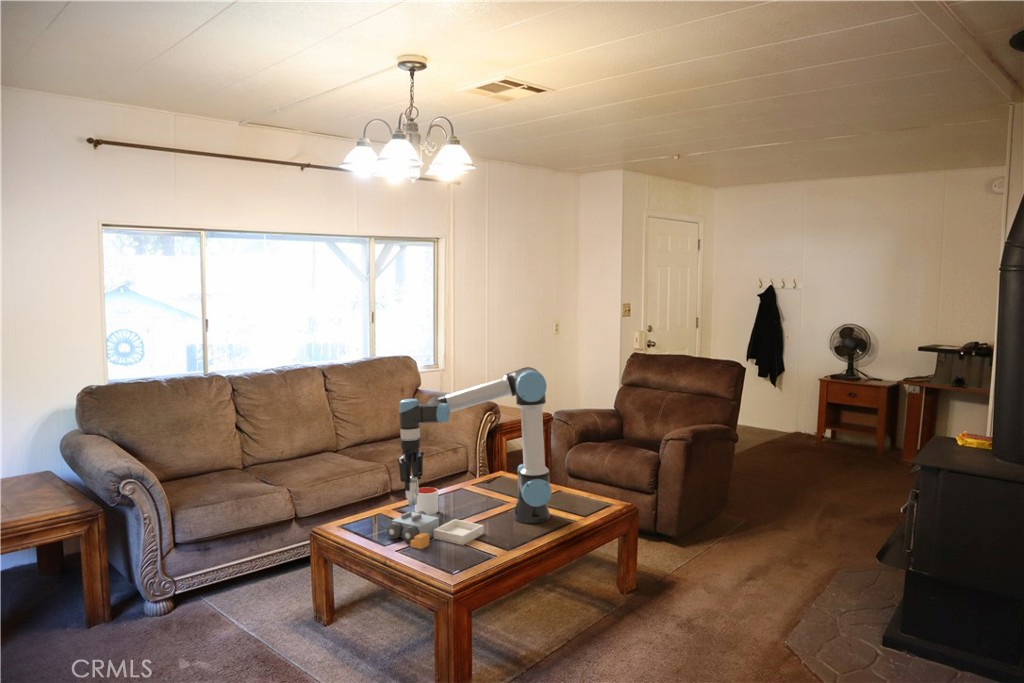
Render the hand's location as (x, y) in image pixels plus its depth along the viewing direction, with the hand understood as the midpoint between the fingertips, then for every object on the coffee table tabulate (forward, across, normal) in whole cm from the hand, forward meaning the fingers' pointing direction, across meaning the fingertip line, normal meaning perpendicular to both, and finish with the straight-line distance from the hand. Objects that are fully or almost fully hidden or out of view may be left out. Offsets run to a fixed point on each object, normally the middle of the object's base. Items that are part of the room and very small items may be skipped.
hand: (412, 496), depth 268 cm
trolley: (+15, 0, +1) cm, 15 cm away
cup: (+15, -22, -11) cm, 28 cm away
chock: (+15, +9, +11) cm, 21 cm away
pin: (+3, 0, 0) cm, 3 cm away
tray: (+15, -6, +17) cm, 24 cm away
